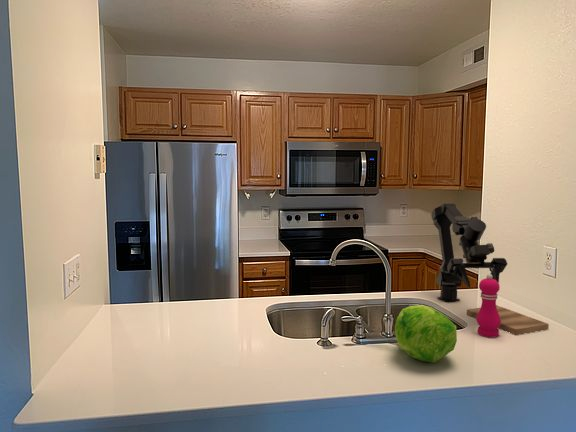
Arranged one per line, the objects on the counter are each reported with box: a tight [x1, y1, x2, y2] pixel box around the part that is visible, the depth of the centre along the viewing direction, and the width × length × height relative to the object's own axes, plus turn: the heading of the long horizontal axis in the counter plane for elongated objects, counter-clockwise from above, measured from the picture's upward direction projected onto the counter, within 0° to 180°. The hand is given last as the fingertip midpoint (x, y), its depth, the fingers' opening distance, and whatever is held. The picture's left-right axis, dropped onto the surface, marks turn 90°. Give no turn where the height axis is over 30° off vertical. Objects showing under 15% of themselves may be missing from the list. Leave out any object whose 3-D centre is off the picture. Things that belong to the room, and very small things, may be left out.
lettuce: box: [394, 304, 458, 363], centre depth 121 cm, size 17×20×15 cm
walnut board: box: [466, 304, 550, 336], centre depth 148 cm, size 22×14×2 cm, turn 18°
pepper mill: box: [475, 273, 501, 338], centre depth 137 cm, size 7×7×20 cm
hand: (483, 286), depth 141 cm, fingers open, 9 cm apart
